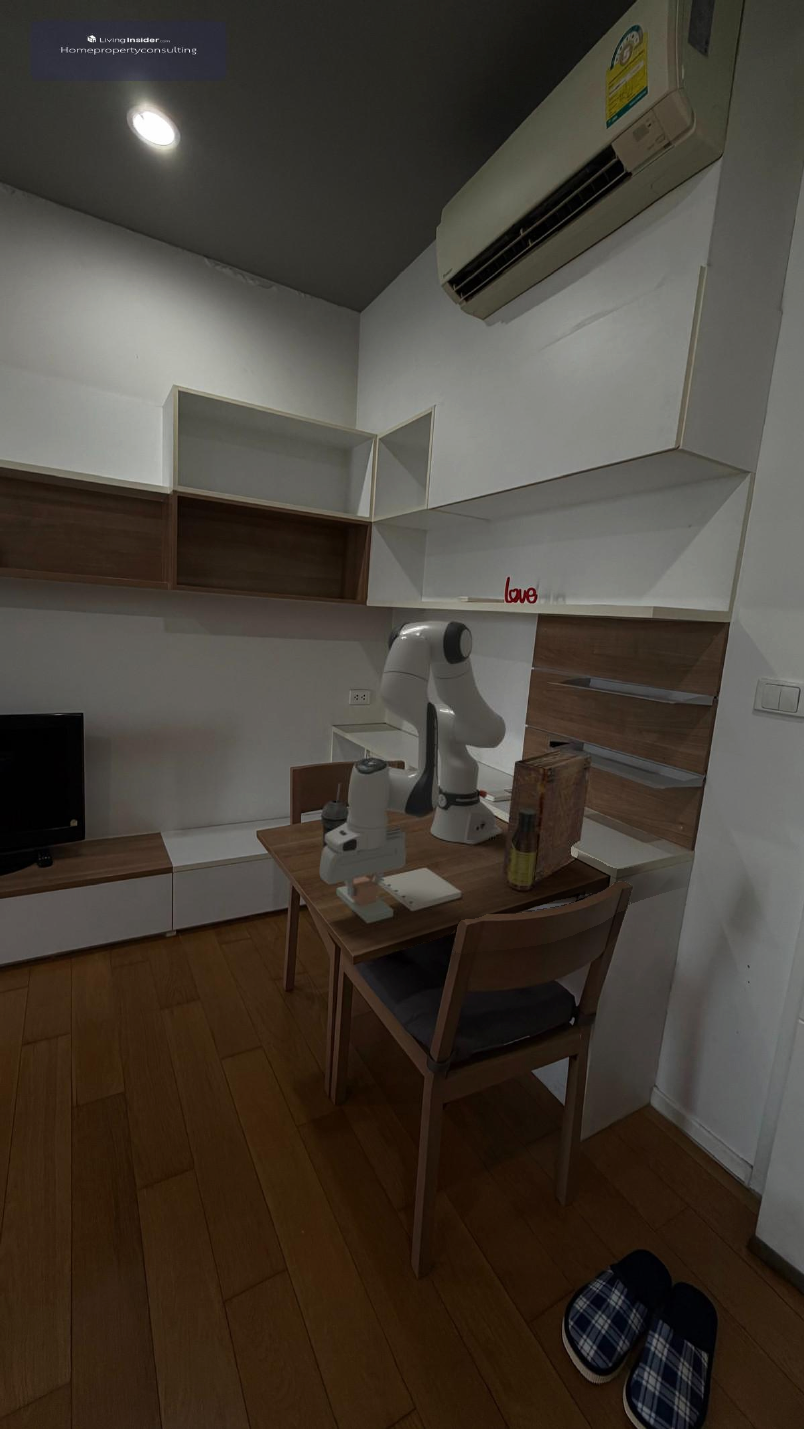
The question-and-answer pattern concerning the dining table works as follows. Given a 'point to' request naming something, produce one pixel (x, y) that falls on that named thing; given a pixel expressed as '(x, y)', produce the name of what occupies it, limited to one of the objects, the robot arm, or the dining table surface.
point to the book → (550, 806)
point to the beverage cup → (333, 815)
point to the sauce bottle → (523, 852)
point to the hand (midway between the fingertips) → (362, 892)
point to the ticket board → (419, 888)
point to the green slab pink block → (366, 900)
